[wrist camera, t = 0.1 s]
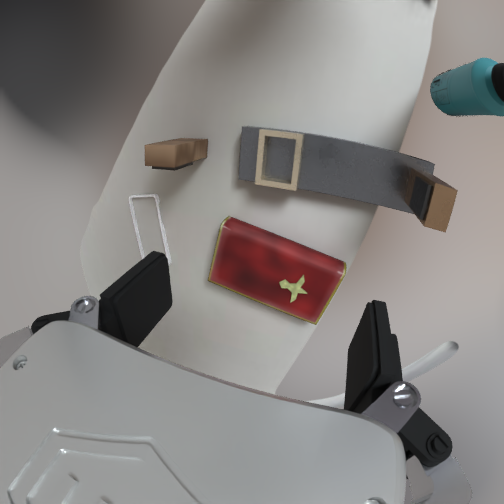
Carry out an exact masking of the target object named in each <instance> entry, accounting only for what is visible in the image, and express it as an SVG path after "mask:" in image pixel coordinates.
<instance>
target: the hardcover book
mask: <svg viewBox="0 0 504 504" xmlns="http://www.w3.org/2000/svg"><path fill="white" fill-rule="evenodd" d="M345 274H346V263H345V262H343V261H340V260H338V259H336V258H333V257H331V256H328V255H326V254H323V253H321V252H319V251H316V250H314V249H311V248H309V247H306V246H304V245H301V244H299V243H296V242H294V241H291V240H289V239H286V238H284V237H281V236H279V235H276V234H274V233H271V232H269V231H266V230H264V229H261V228H258V227H256V226H253V225H251V224H248V223H246V222H243V221H240V220H238V219H235V218H233V217H230V216H228V217H227V218H226V219H225V220H224V221H223V222H222V224H221V226H220V230H219V234H218V239H217V243H216V247H215V251H214V255H213V260H212V264H211V268H210V273H209V277H208V281H210V282H212V283H214V284H217V285H219V286H221V287H224V288H226V289H228V290H231V291H233V292H235V293H238V294H240V295H242V296H245V297H247V298H250V299H252V300H254V301H257V302H259V303H262V304H264V305H267V306H269V307H271V308H274V309H276V310H279V311H281V312H284V313H286V314H289V315H292V316H294V317H297V318H299V319H302V320H304V321H307V322H310V323H312V324H315V325H316V324H317V322H318V321H319V319H320V318H321V316H322V314H323V313H324V311H325V309H326V308H327V306H328V304H329V302H330V301H331V299H332V297H333V296H334V294H335V292H336V290H337V289H338V287H339V285H340V283H341V281H342V280H343V278H344V276H345Z"/></svg>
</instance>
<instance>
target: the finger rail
mask: <svg viewBox="0 0 504 504" xmlns="http://www.w3.org/2000/svg"><path fill="white" fill-rule="evenodd" d="M434 165H435V164H433V163H431V162H429V161H425V160H422V159H419V158H416V157H412V156H409V155H405V154H402V153H399V152H395V151H391V150H387V149H383V148H379V147H375V146H371V145H367V144H363V143H358V142H353V141H349V140H344V139H338V138H333V137H328V136H322V135H316V134H310V133H303V132H296V131H288V130H280V129H271V128H261V127H250V126H244V127H242V137H241V151H240V165H239V179H241V180H248V181H255V184H256V185H263V186H269V187H275V188H281V189H287V190H293V191H296V190H297V189H304V190H310V191H315V192H320V193H325V194H330V195H335V196H340V197H345V198H350V199H354V200H359V201H363V202H368V203H372V204H376V205H381V206H385V207H388V208H392V209H396V210H400V211H404V212H408V213H412V214H415V215H416V216H417V218H418V219H419V220H420V222H421V223H422V224H423V226H425V227H429V228H432V229H436V230H439V231H443V232H446V229H447V226H448V223H449V220H450V216H451V213H452V209H453V206H454V202H455V198H456V195H457V190H456V189H454V188H453V187H451V186H450V185H448V184H447V183H445V182H443V181H442V180H440V179H439V178H437V177H435V176H434V175H433V170H434Z"/></svg>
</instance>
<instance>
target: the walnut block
mask: <svg viewBox="0 0 504 504" xmlns="http://www.w3.org/2000/svg"><path fill="white" fill-rule="evenodd" d="M207 147H208V139H193V138H179V139H173V140H168V141H162V142H157V143H152V144H147V145H145V166H152V169H165V170H178V169H180V168H183V167H186V166H189V165H192V164H193V161H196V160H199V159H202V158H205V157H207Z"/></svg>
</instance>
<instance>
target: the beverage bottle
mask: <svg viewBox="0 0 504 504" xmlns="http://www.w3.org/2000/svg"><path fill="white" fill-rule="evenodd" d="M441 74H442V75H441ZM441 74H439V76H438V77H436V78H435V79H433V82H432V84H431V89H430V92H431V96H432V99H433V101H434V103H435V105H436V106H437V107H438V108H439V109H440V110H441V111H442V112H444V113H446V114H447V115H452V116H460V115H462V116H463V115H497V116H504V63H499V64H498V63H497V62H496V61H494V60H492V59H489V58H480V59H477V60H476V61H474V62H471V63H469V64H465V65H463V66H460V67H458V68H456V69H453V70H451V71H450V70H448V72H446V73H444V74H443V73H441Z"/></svg>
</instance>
